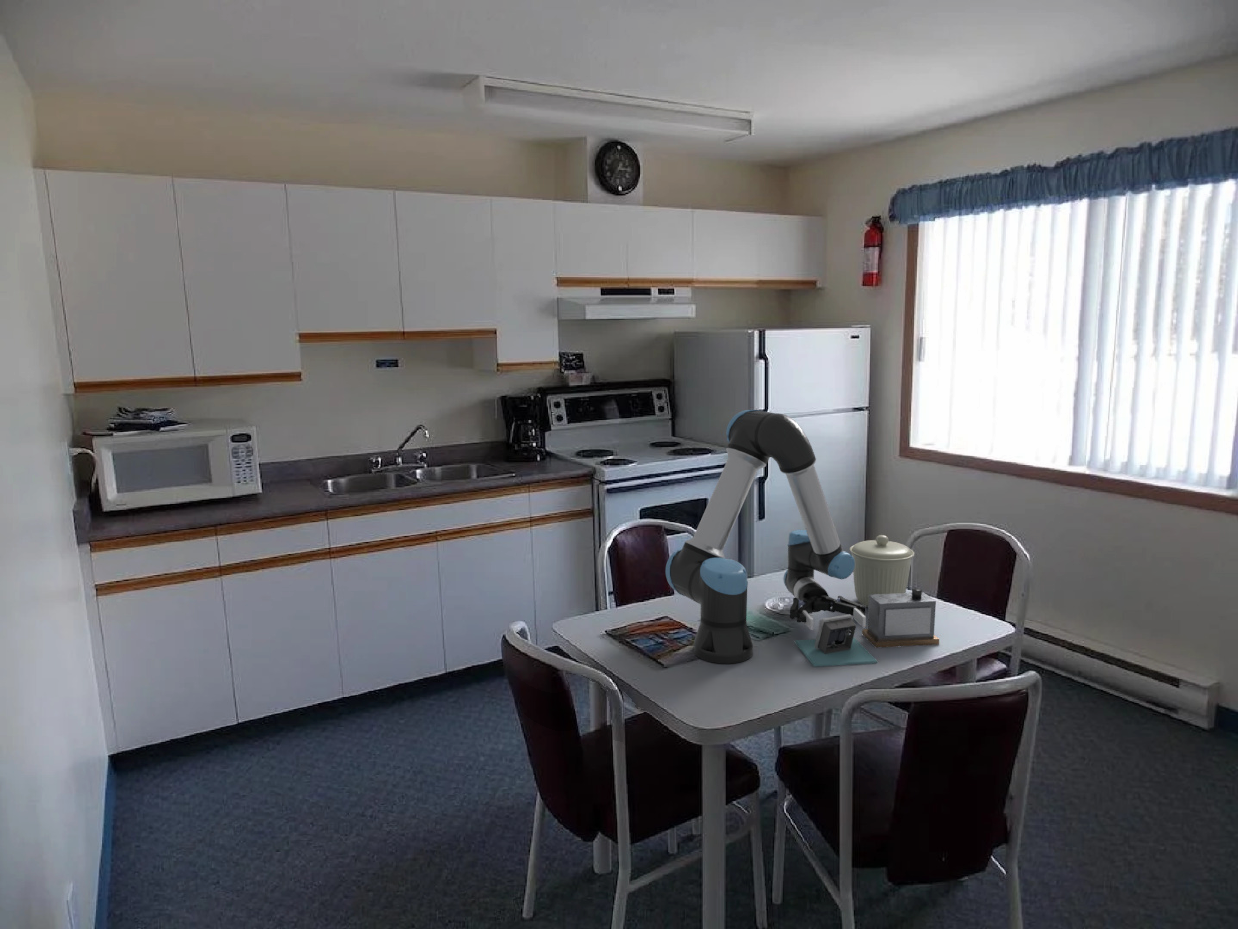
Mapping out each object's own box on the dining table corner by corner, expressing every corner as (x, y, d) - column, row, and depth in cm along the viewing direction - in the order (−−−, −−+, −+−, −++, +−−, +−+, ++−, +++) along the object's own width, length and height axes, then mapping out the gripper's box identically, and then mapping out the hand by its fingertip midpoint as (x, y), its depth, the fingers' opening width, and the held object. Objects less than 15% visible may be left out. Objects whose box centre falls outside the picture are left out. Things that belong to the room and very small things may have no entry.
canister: (874, 618, 226) (877, 546, 223) (835, 598, 243) (837, 531, 239) (925, 609, 233) (929, 539, 229) (883, 590, 249) (886, 525, 246)
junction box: (875, 647, 206) (878, 597, 204) (862, 634, 215) (864, 586, 213) (938, 644, 208) (941, 594, 205) (922, 631, 217) (925, 583, 214)
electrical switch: (844, 643, 208) (847, 611, 205) (856, 653, 203) (859, 619, 201) (813, 649, 205) (816, 616, 202) (824, 659, 200) (828, 625, 197)
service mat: (813, 666, 196) (814, 664, 196) (794, 642, 210) (794, 640, 210) (877, 663, 197) (877, 660, 197) (853, 639, 212) (853, 637, 212)
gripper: (854, 606, 224) (885, 635, 203) (767, 610, 222) (789, 639, 201) (855, 580, 223) (886, 607, 202) (767, 584, 221) (790, 611, 200)
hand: (838, 623), depth 202 cm, fingers open, 13 cm apart
